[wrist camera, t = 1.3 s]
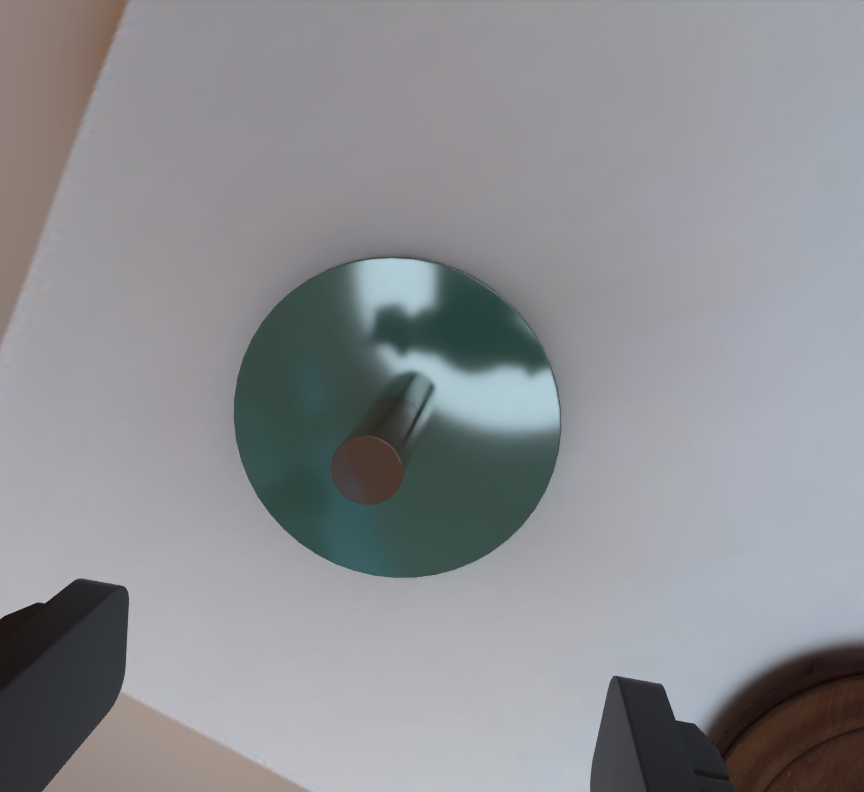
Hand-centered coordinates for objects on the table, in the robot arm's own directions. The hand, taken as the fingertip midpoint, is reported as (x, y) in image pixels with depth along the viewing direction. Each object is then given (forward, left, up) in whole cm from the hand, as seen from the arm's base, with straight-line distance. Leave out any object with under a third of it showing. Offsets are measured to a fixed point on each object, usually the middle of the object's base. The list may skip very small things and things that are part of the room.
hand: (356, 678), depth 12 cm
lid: (-1, -2, -18) cm, 19 cm away
